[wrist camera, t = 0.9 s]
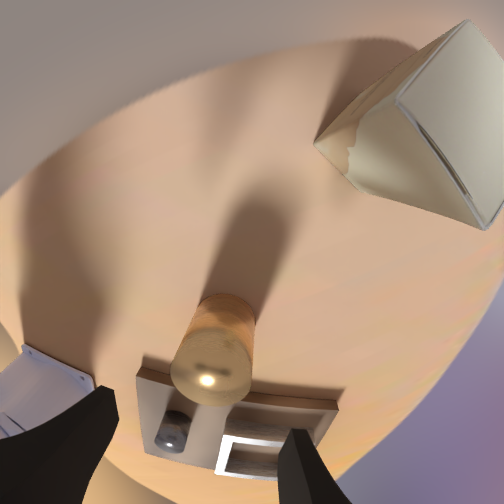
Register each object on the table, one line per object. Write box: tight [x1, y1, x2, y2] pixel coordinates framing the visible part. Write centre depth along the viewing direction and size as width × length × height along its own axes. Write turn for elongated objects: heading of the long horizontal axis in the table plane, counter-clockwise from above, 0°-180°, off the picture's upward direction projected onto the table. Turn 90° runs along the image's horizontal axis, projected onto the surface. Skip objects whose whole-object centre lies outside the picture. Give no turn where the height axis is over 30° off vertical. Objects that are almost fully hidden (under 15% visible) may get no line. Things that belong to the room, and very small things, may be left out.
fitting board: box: [136, 367, 339, 481], centre depth 19 cm, size 16×12×4 cm
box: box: [313, 19, 504, 231], centre depth 10 cm, size 5×4×11 cm
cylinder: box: [170, 294, 255, 407], centre depth 15 cm, size 4×4×6 cm
